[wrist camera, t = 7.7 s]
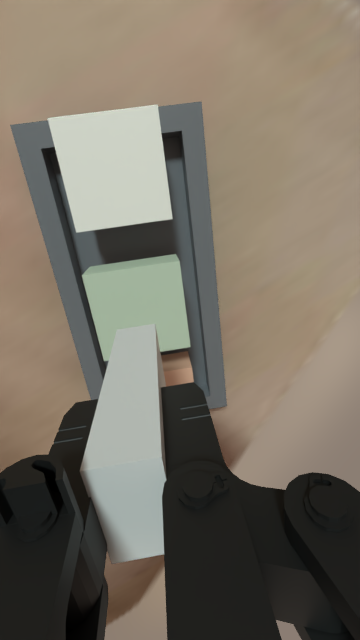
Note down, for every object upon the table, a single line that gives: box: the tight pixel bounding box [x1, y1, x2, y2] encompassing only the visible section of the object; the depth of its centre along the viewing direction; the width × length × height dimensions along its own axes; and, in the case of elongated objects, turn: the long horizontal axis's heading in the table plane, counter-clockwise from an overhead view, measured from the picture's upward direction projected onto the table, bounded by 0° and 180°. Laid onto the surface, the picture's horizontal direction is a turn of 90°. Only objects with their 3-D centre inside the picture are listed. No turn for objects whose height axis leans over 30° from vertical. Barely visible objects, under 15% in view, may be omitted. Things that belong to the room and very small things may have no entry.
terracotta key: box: [161, 351, 194, 387], centre depth 21 cm, size 5×5×4 cm
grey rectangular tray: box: [10, 102, 227, 409], centre depth 20 cm, size 20×10×2 cm, turn 7°
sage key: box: [82, 254, 191, 361], centre depth 18 cm, size 5×5×4 cm
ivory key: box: [47, 105, 173, 233], centre depth 16 cm, size 5×5×4 cm
